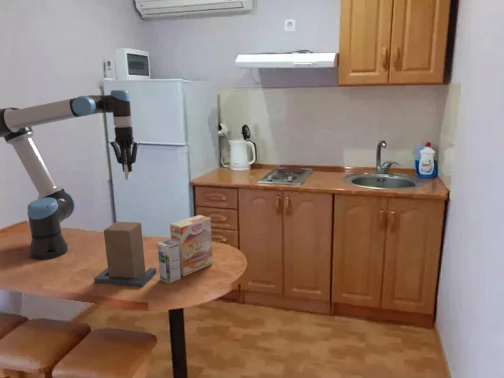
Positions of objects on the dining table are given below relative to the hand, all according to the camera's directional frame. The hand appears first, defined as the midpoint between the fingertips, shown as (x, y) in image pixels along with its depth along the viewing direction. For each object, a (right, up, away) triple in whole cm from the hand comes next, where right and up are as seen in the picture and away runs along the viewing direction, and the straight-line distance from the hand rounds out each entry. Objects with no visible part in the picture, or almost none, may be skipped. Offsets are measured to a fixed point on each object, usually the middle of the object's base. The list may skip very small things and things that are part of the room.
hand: (128, 178), depth 189 cm
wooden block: (+9, -38, -30) cm, 49 cm away
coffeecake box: (+33, -36, -24) cm, 54 cm away
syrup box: (+26, -38, -34) cm, 57 cm away
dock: (+9, -38, -32) cm, 50 cm away
